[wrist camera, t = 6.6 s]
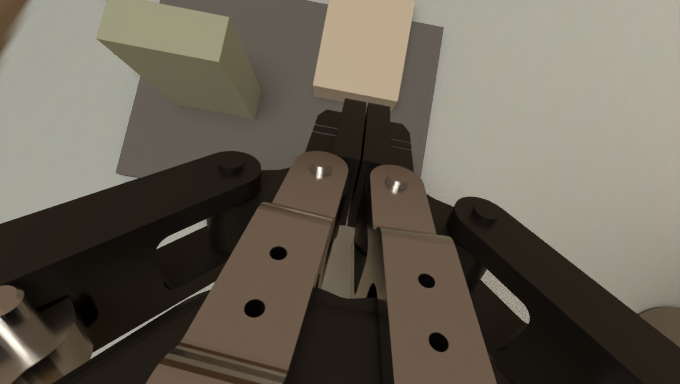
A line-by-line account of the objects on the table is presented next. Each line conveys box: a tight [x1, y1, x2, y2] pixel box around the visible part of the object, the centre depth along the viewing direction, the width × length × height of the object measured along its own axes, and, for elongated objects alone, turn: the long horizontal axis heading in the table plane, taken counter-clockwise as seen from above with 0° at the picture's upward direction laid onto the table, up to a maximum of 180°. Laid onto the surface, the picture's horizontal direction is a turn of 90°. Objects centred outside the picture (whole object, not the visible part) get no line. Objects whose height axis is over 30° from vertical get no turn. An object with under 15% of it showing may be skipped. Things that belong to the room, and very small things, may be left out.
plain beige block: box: [313, 0, 415, 111], centre depth 26 cm, size 6×3×9 cm
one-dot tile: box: [96, 0, 262, 120], centre depth 22 cm, size 6×3×9 cm, turn 80°
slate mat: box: [116, 0, 443, 216], centre depth 27 cm, size 22×16×1 cm
